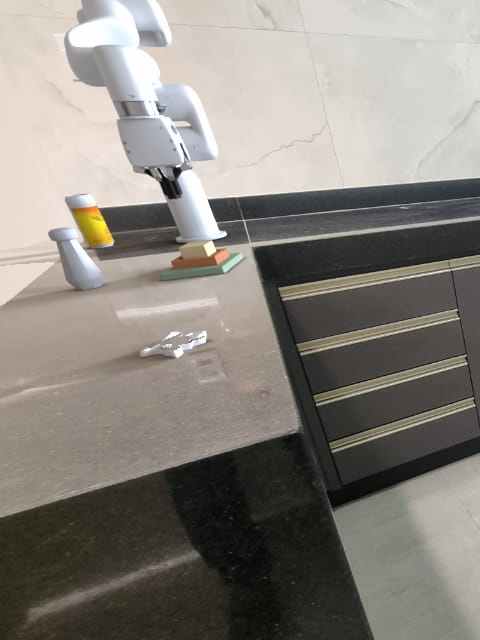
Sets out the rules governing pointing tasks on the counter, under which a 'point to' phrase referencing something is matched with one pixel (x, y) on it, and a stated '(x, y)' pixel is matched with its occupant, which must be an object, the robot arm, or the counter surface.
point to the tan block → (197, 249)
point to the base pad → (202, 265)
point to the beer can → (89, 220)
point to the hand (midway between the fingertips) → (175, 198)
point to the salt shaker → (75, 260)
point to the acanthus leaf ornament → (182, 347)
